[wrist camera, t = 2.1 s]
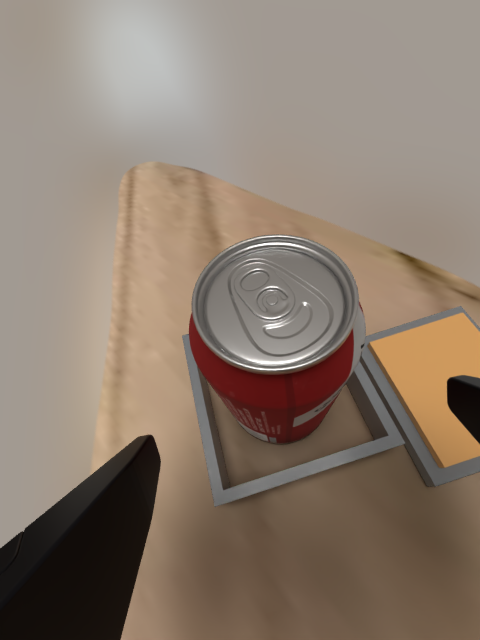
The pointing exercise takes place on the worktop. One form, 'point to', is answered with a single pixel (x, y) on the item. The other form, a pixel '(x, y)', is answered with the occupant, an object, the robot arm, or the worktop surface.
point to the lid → (427, 389)
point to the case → (220, 486)
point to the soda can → (277, 333)
